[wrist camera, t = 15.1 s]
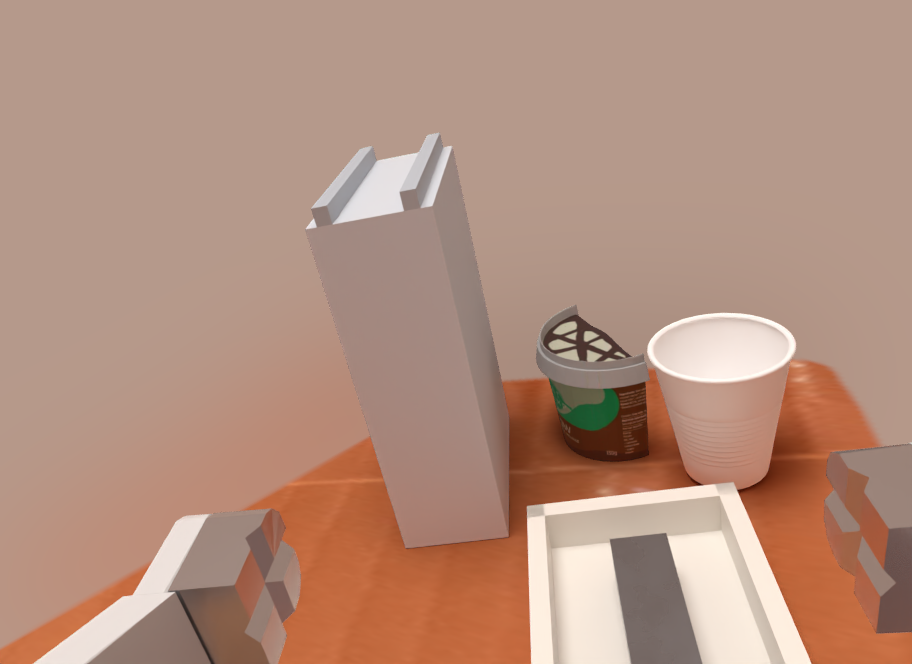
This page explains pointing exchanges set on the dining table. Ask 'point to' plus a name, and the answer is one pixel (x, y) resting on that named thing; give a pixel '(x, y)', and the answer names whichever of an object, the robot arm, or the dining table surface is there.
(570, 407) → the food container
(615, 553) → the dark gray bar
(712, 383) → the cup
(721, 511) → the tray
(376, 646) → the dining table surface
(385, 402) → the channel block
